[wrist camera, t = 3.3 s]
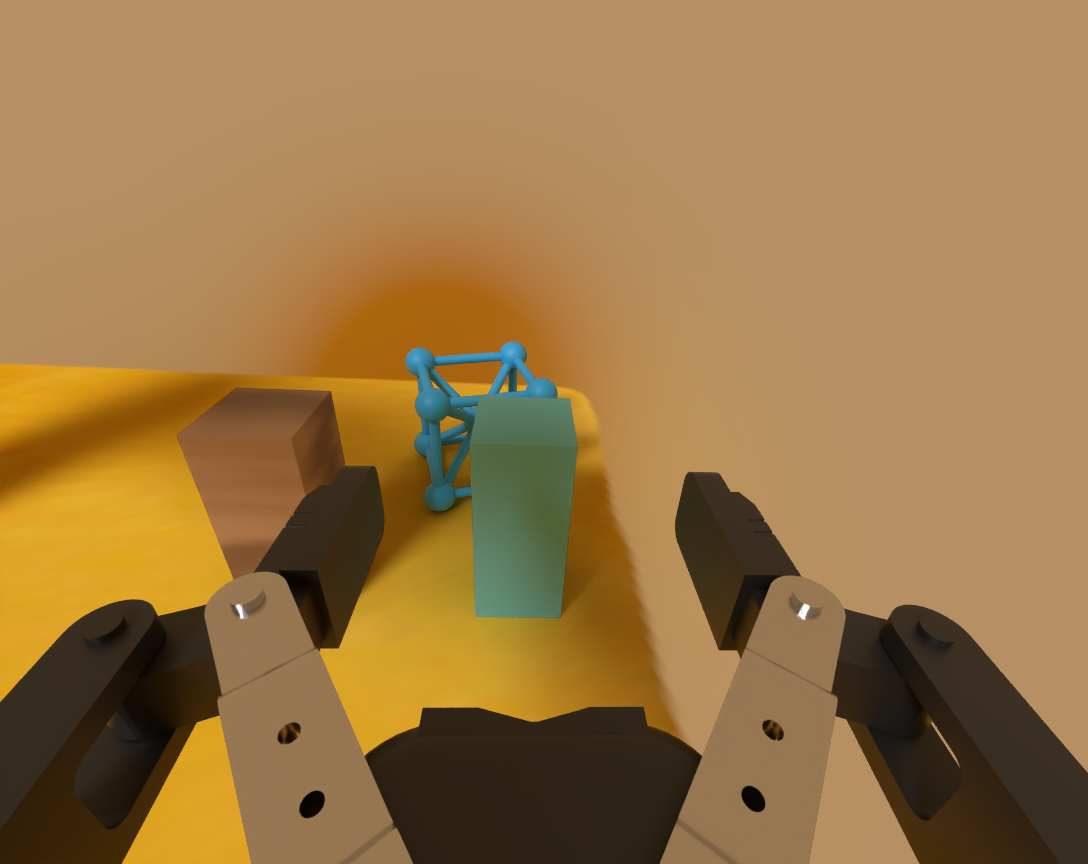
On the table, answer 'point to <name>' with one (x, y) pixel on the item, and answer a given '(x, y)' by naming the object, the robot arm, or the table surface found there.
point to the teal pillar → (521, 504)
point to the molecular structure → (460, 411)
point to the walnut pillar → (260, 464)
